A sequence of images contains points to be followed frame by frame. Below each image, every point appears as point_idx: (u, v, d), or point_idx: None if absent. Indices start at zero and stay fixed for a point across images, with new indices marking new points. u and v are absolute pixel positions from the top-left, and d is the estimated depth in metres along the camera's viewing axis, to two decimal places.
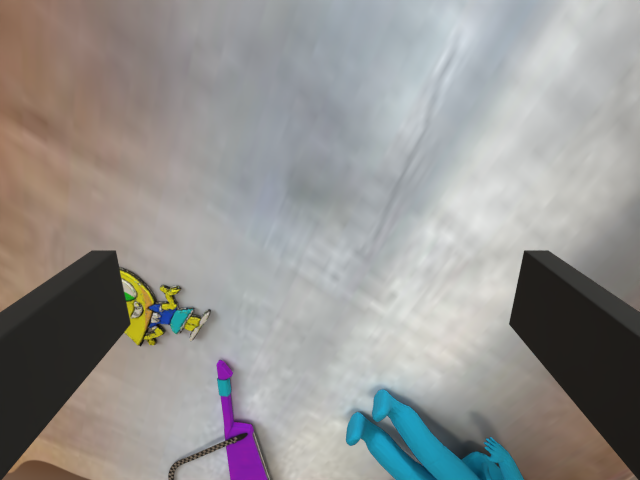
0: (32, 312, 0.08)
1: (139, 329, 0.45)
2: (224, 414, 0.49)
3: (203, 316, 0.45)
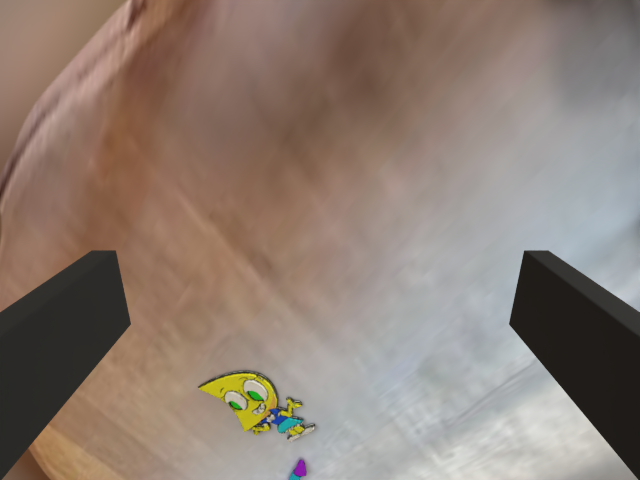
0: (32, 312, 0.08)
1: (253, 421, 0.54)
2: None
3: (307, 427, 0.55)
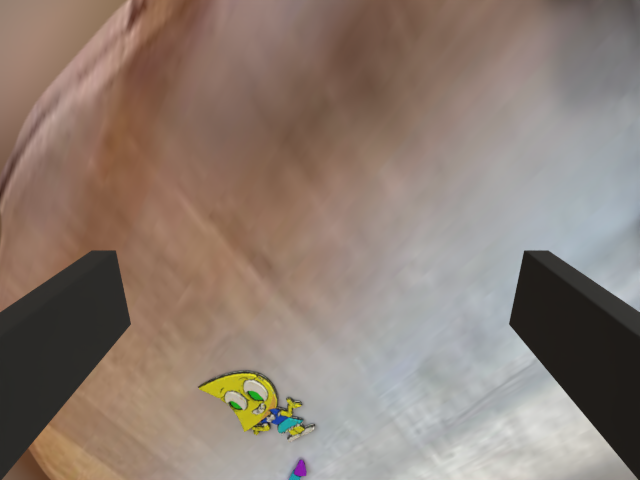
0: (32, 312, 0.08)
1: (253, 421, 0.54)
2: None
3: (307, 427, 0.55)
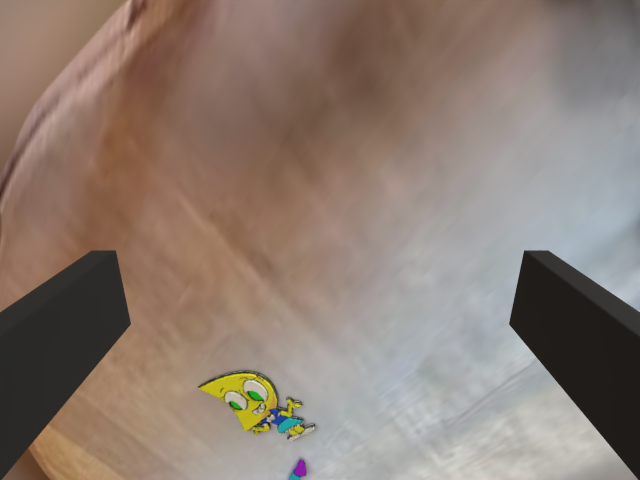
0: (32, 312, 0.08)
1: (253, 421, 0.54)
2: None
3: (307, 427, 0.55)
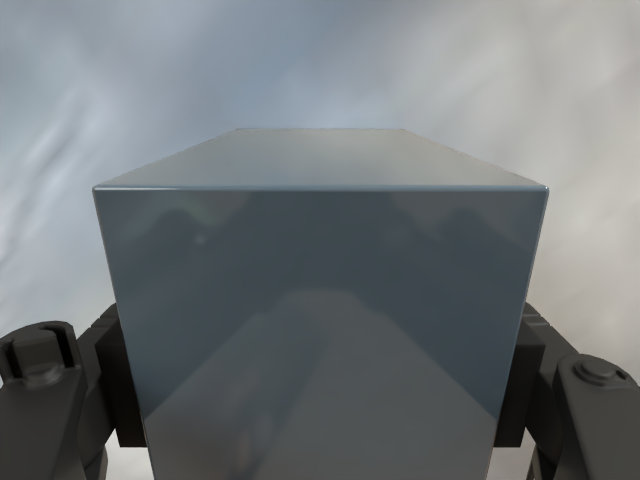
0: None
1: None
2: None
3: None
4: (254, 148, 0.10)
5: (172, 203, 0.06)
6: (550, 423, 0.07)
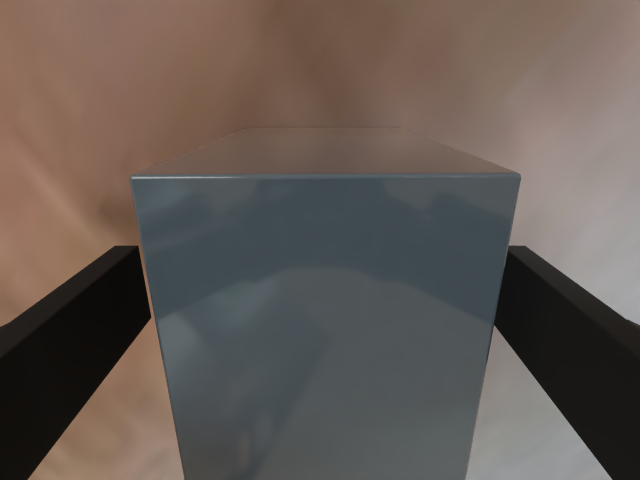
0: (67, 303, 0.09)
1: None
2: None
3: None
4: (263, 144, 0.11)
5: (197, 189, 0.07)
6: None
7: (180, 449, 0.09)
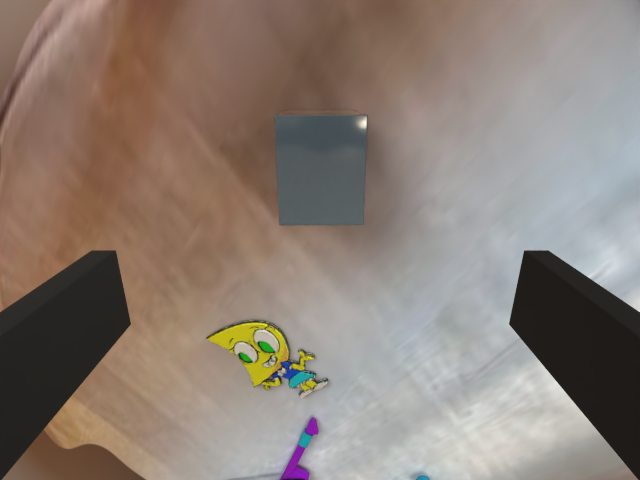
0: (33, 313, 0.09)
1: (263, 375, 0.52)
2: (293, 460, 0.56)
3: (320, 382, 0.52)
4: (301, 112, 0.34)
5: (290, 118, 0.30)
6: None
7: (279, 200, 0.32)
